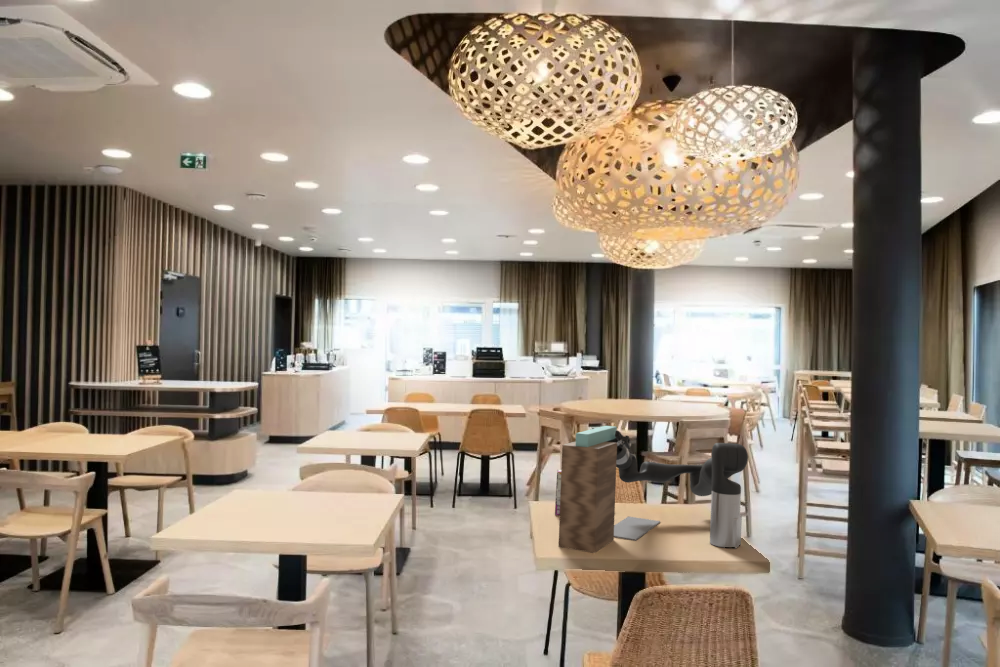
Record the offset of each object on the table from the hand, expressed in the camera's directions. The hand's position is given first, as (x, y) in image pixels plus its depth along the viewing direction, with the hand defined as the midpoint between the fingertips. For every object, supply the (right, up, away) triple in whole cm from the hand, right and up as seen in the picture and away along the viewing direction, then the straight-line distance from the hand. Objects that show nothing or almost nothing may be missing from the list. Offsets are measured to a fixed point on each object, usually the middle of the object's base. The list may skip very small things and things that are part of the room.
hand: (604, 431), depth 246 cm
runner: (+11, -35, +9) cm, 38 cm away
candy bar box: (-9, -35, +26) cm, 45 cm away
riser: (-7, -34, -12) cm, 37 cm away
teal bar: (-3, -3, -6) cm, 8 cm away
